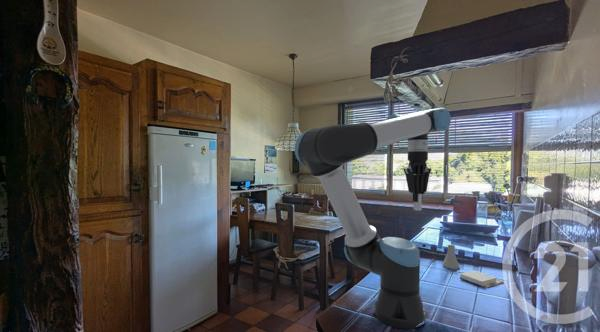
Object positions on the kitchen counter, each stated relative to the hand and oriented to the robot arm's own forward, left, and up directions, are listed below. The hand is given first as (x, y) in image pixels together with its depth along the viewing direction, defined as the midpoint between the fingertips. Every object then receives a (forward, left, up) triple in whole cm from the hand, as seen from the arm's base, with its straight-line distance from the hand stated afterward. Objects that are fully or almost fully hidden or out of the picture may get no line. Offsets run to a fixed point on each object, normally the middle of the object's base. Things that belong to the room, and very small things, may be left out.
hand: (417, 209), depth 115 cm
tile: (+20, -9, -28) cm, 35 cm away
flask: (+29, +7, -30) cm, 42 cm away
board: (+26, -9, -29) cm, 40 cm away
